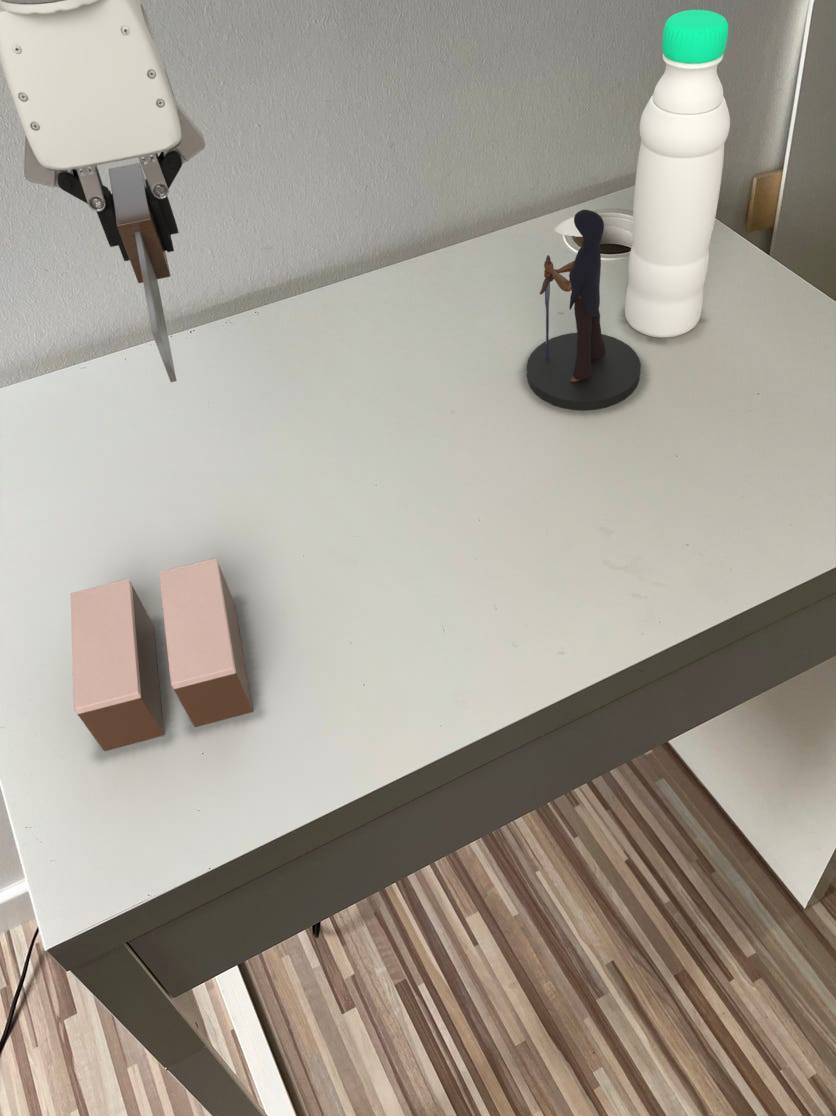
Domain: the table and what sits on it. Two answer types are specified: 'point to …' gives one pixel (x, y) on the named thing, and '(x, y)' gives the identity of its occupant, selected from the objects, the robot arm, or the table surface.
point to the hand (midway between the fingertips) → (147, 245)
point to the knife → (142, 248)
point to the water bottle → (678, 178)
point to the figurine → (582, 333)
